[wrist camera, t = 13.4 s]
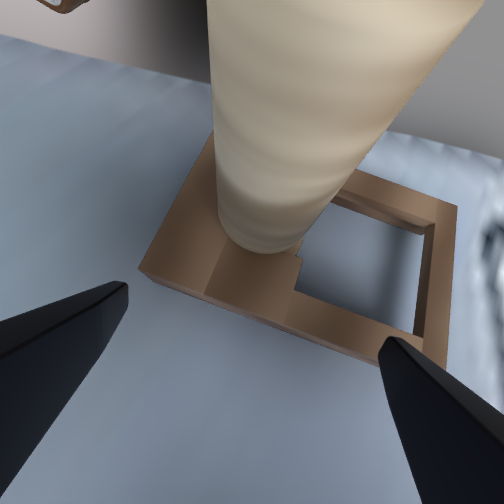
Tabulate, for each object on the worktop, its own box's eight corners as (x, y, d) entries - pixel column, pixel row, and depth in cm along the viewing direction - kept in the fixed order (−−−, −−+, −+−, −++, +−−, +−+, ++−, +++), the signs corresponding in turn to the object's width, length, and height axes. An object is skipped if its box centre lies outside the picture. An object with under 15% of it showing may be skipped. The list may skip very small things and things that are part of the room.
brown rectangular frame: (422, 226, 18) (457, 206, 16) (403, 376, 15) (445, 385, 12) (219, 152, 19) (218, 119, 16) (153, 281, 15) (137, 268, 12)
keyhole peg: (257, 294, 16) (394, 112, 3) (197, 233, 16) (107, -104, 4) (313, 237, 17) (552, -33, 5) (255, 185, 18) (326, -161, 6)
